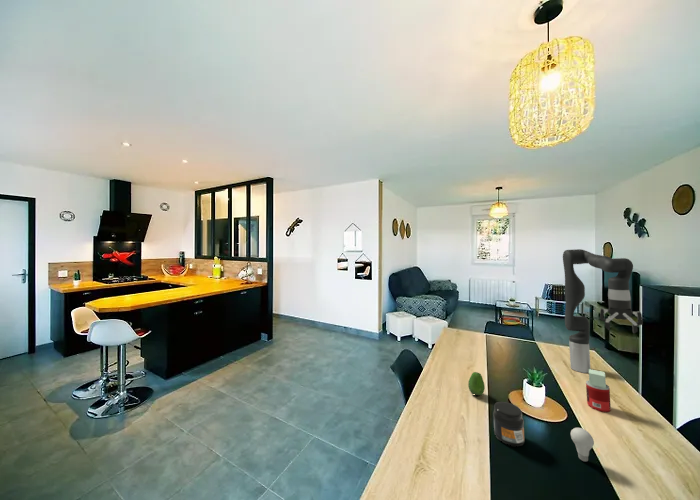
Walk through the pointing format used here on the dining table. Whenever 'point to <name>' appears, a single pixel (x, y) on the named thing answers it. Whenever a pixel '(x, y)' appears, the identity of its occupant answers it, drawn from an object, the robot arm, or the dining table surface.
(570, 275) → the robot arm
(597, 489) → the dining table surface
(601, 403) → the canned food
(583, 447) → the lightbulb
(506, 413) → the supplement container
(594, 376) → the sage block
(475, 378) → the avocado
